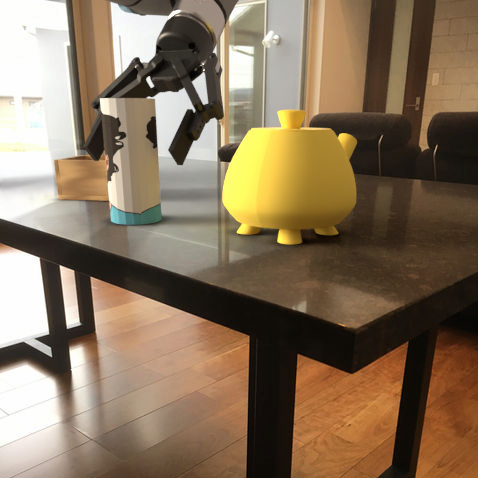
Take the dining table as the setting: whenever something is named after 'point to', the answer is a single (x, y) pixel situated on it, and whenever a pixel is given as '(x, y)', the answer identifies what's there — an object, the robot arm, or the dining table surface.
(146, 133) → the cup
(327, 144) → the teapot
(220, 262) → the dining table surface
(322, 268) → the dining table surface
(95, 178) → the box
